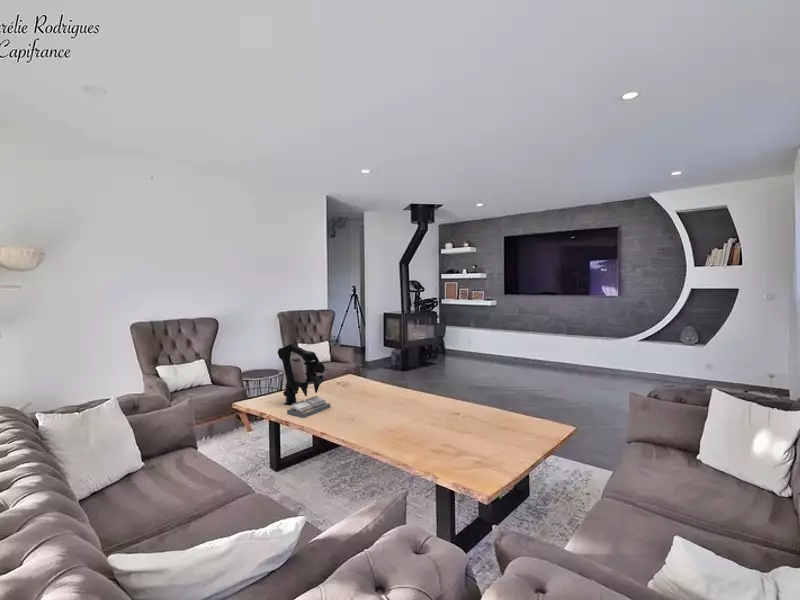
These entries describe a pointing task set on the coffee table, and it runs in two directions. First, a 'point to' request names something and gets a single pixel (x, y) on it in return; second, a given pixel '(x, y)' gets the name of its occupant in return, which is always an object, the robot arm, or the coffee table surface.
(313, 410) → the switch unit
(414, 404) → the coffee table surface
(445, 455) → the coffee table surface
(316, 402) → the rocker
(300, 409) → the grey flat slab
